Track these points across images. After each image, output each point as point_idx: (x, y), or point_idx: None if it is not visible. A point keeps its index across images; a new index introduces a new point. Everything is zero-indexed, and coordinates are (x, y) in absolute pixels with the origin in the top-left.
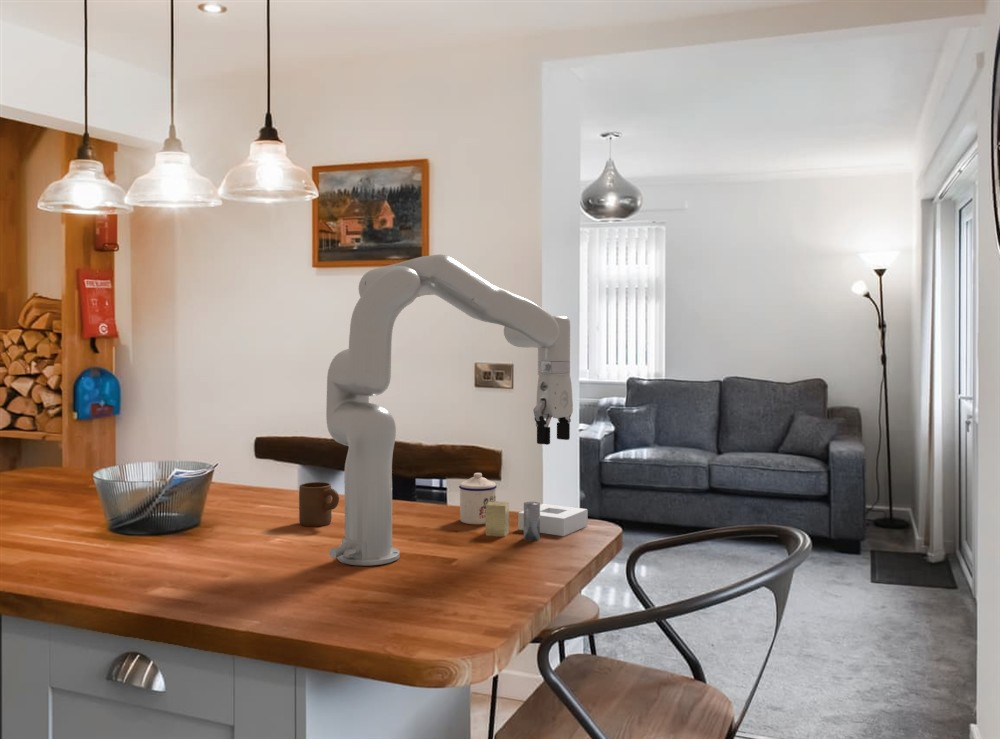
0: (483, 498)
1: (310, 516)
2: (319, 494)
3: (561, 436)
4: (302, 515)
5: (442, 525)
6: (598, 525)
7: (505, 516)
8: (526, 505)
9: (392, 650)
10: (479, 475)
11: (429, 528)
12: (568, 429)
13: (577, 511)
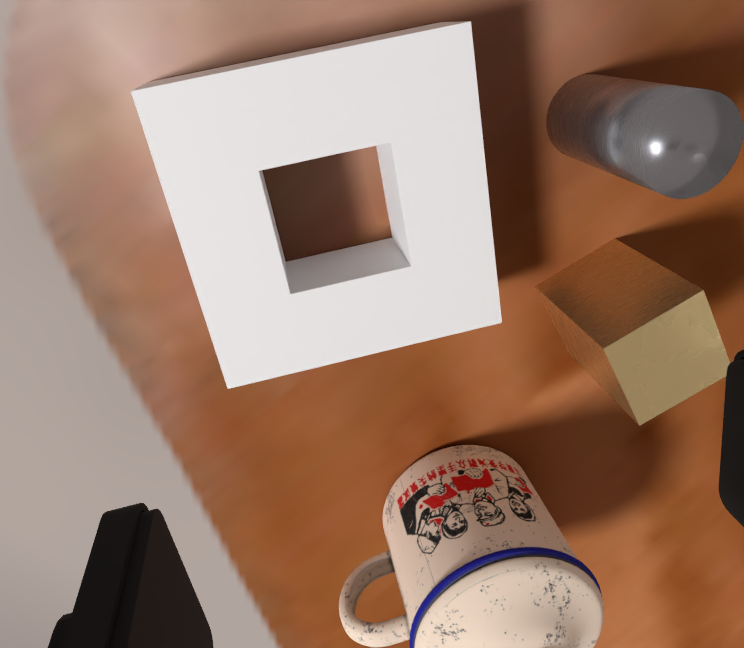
0: (539, 524)
1: None
2: None
3: (189, 614)
4: None
5: (597, 525)
6: (79, 38)
7: (660, 273)
8: (737, 144)
9: None
10: None
11: (661, 517)
12: (108, 641)
13: (241, 96)
